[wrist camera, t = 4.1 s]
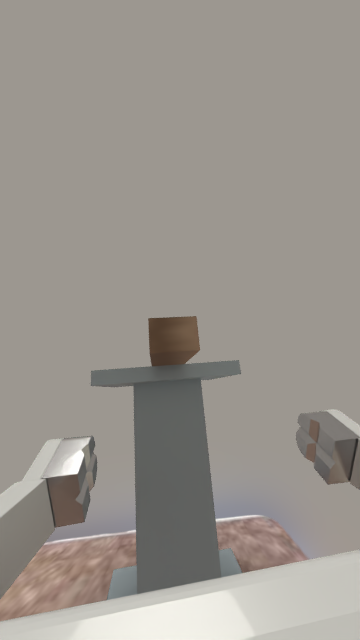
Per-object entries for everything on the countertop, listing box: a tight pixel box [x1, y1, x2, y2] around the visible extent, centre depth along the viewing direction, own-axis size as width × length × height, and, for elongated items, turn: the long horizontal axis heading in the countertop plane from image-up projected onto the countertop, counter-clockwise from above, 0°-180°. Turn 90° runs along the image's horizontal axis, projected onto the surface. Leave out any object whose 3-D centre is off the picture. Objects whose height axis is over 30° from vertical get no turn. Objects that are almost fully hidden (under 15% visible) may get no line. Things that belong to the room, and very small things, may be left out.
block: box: [148, 316, 200, 366], centre depth 26 cm, size 4×22×2 cm, turn 6°
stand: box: [91, 360, 242, 600], centre depth 26 cm, size 16×14×26 cm
